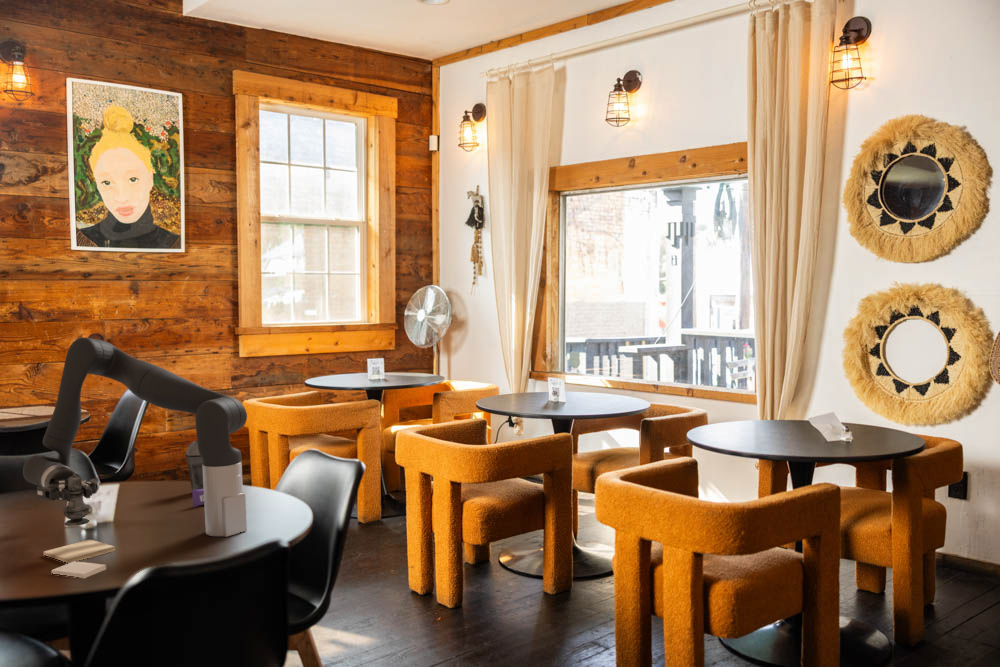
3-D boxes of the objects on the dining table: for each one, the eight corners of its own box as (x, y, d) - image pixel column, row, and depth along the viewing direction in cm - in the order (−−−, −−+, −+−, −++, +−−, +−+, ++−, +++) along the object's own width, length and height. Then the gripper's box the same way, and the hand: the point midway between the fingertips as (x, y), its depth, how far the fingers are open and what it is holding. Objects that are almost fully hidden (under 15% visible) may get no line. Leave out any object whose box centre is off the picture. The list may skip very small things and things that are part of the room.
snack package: (194, 508, 240) (193, 490, 239) (191, 507, 241) (190, 489, 241) (231, 499, 248) (231, 482, 248) (228, 498, 250) (227, 481, 249)
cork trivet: (114, 550, 202) (114, 546, 202) (68, 563, 193) (67, 559, 193) (90, 543, 208) (89, 539, 208) (43, 555, 200) (43, 551, 200)
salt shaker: (81, 526, 197) (78, 474, 196) (57, 526, 198) (54, 474, 197) (96, 519, 203) (93, 468, 202) (72, 518, 204) (70, 468, 203)
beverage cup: (186, 491, 260) (182, 425, 258) (211, 488, 263) (208, 423, 261) (188, 496, 253) (185, 428, 252) (214, 493, 256) (211, 426, 255)
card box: (106, 571, 189) (105, 564, 189) (84, 580, 183) (83, 573, 183) (74, 567, 192) (74, 561, 192) (51, 576, 186) (51, 570, 186)
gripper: (27, 471, 207) (43, 484, 193) (91, 462, 215) (110, 474, 202) (29, 502, 207) (45, 517, 194) (93, 492, 216) (112, 505, 202)
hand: (78, 495), depth 198 cm, fingers closed on salt shaker, 3 cm apart
